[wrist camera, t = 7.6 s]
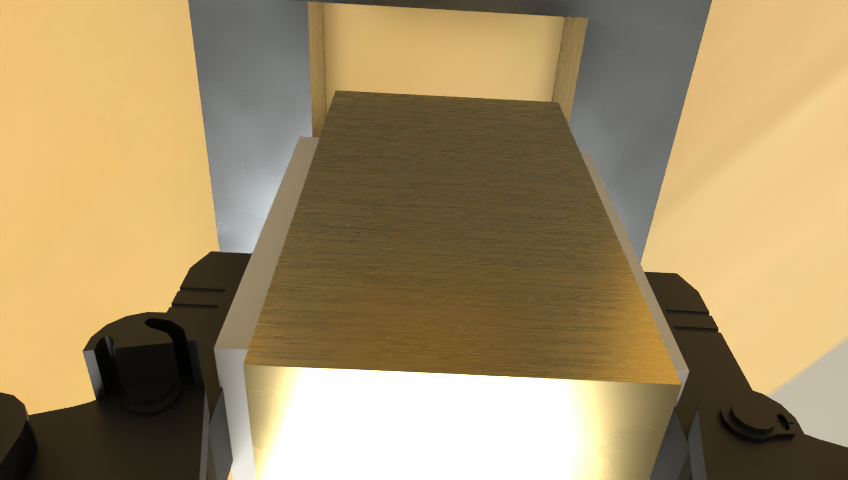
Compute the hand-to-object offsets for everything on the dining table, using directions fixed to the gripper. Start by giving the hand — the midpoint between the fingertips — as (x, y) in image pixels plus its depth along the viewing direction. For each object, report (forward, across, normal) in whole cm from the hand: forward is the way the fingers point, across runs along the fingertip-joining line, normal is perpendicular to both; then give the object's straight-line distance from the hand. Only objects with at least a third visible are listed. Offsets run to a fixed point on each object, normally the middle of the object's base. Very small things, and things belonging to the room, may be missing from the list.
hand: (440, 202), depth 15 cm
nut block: (0, 0, 0) cm, 0 cm away
